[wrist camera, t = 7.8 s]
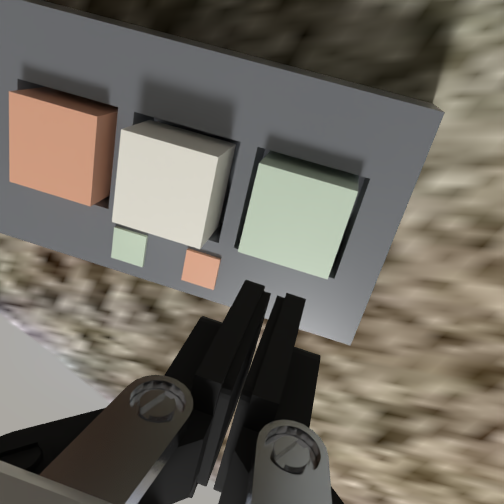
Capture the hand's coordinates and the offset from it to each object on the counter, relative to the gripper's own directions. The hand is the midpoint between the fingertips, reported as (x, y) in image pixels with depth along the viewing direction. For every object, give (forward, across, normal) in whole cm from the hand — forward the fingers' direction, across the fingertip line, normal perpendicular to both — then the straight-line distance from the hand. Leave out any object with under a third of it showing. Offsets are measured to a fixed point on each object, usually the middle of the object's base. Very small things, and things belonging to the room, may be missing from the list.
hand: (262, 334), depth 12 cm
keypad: (+14, +6, 0) cm, 15 cm away
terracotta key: (+12, +12, 0) cm, 17 cm away
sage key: (+12, 0, 0) cm, 12 cm away
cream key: (+11, +6, 0) cm, 13 cm away
